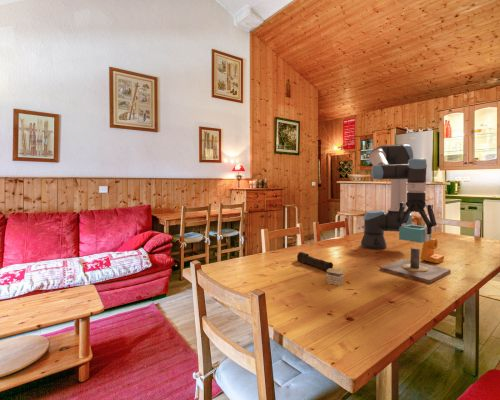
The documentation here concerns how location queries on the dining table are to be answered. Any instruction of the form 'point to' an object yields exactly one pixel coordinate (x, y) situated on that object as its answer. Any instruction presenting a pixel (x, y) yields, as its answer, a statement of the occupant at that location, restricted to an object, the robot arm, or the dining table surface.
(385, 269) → the post base
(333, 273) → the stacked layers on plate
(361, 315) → the dining table surface
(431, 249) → the bracket
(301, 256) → the hand tool
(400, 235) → the collar
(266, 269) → the dining table surface
